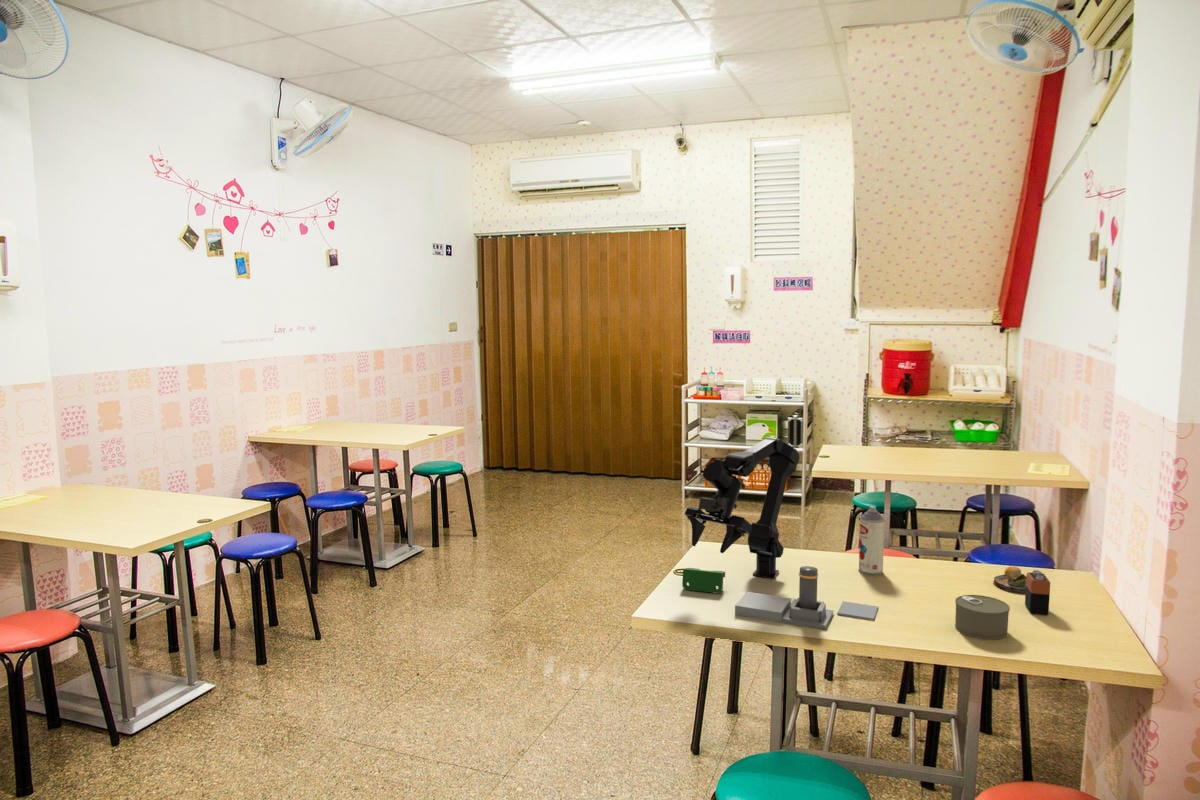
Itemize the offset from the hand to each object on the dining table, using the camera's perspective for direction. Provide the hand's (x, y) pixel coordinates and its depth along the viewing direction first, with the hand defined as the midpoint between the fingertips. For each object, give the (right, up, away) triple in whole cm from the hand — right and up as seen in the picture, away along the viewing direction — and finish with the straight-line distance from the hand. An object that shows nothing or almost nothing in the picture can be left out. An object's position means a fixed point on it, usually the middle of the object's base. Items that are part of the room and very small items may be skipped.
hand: (707, 549), depth 213 cm
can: (+65, -17, -19) cm, 69 cm away
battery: (+85, -15, -6) cm, 87 cm away
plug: (+24, -16, -10) cm, 31 cm away
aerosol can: (+52, -12, +25) cm, 59 cm away
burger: (+89, -13, +11) cm, 91 cm away
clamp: (+1, -14, +12) cm, 18 cm away
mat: (+39, -15, -6) cm, 42 cm away
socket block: (+19, -16, -8) cm, 26 cm away
